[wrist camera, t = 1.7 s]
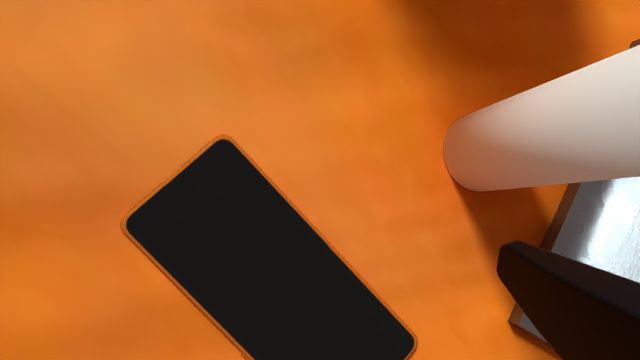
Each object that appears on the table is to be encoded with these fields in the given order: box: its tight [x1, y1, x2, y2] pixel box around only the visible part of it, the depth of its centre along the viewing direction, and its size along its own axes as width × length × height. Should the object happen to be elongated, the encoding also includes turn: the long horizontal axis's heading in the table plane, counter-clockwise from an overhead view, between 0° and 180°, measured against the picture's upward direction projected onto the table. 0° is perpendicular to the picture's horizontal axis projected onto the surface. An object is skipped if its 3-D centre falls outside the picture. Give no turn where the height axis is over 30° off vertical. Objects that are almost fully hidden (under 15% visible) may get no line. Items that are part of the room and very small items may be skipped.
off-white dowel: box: [443, 45, 640, 192], centre depth 21 cm, size 5×5×13 cm
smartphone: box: [120, 134, 418, 360], centre depth 24 cm, size 8×17×1 cm, turn 44°
